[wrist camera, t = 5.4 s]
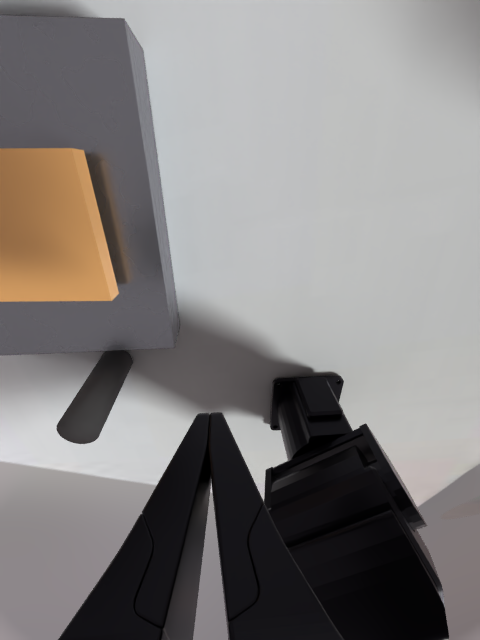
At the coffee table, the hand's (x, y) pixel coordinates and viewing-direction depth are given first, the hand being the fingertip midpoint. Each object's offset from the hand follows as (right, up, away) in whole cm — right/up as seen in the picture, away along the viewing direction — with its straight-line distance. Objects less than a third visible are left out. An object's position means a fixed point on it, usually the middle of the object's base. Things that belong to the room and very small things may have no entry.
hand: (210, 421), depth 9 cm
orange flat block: (-10, +8, +4) cm, 14 cm away
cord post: (-9, 0, +13) cm, 16 cm away
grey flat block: (-10, +10, +8) cm, 16 cm away
